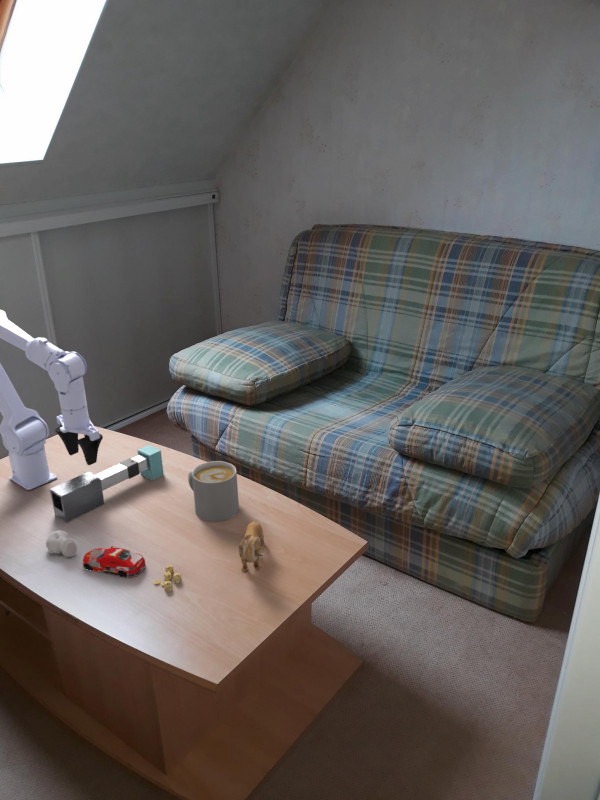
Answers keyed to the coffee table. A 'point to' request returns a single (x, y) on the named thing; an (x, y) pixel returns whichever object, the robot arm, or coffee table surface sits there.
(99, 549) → the race car
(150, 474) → the teal socket
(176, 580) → the gold nuggets
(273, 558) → the coffee table surface
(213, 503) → the coffee mug
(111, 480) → the metal square rod
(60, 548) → the pale two-lobed sculpture
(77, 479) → the graphite sleeve
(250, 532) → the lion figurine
